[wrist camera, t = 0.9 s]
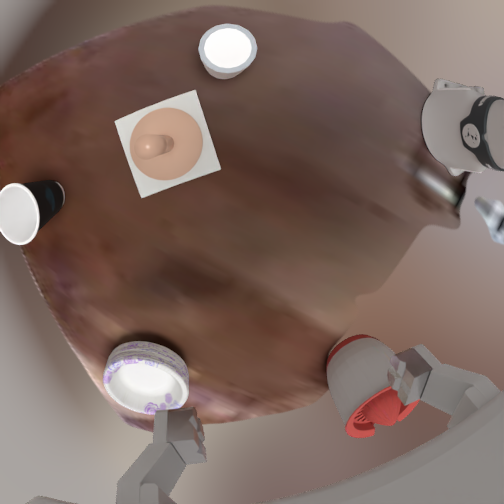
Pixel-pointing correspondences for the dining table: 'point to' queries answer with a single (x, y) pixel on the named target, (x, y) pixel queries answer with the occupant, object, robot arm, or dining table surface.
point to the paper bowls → (146, 377)
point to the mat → (208, 155)
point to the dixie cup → (28, 208)
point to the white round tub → (227, 50)
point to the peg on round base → (166, 144)
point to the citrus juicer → (364, 385)
